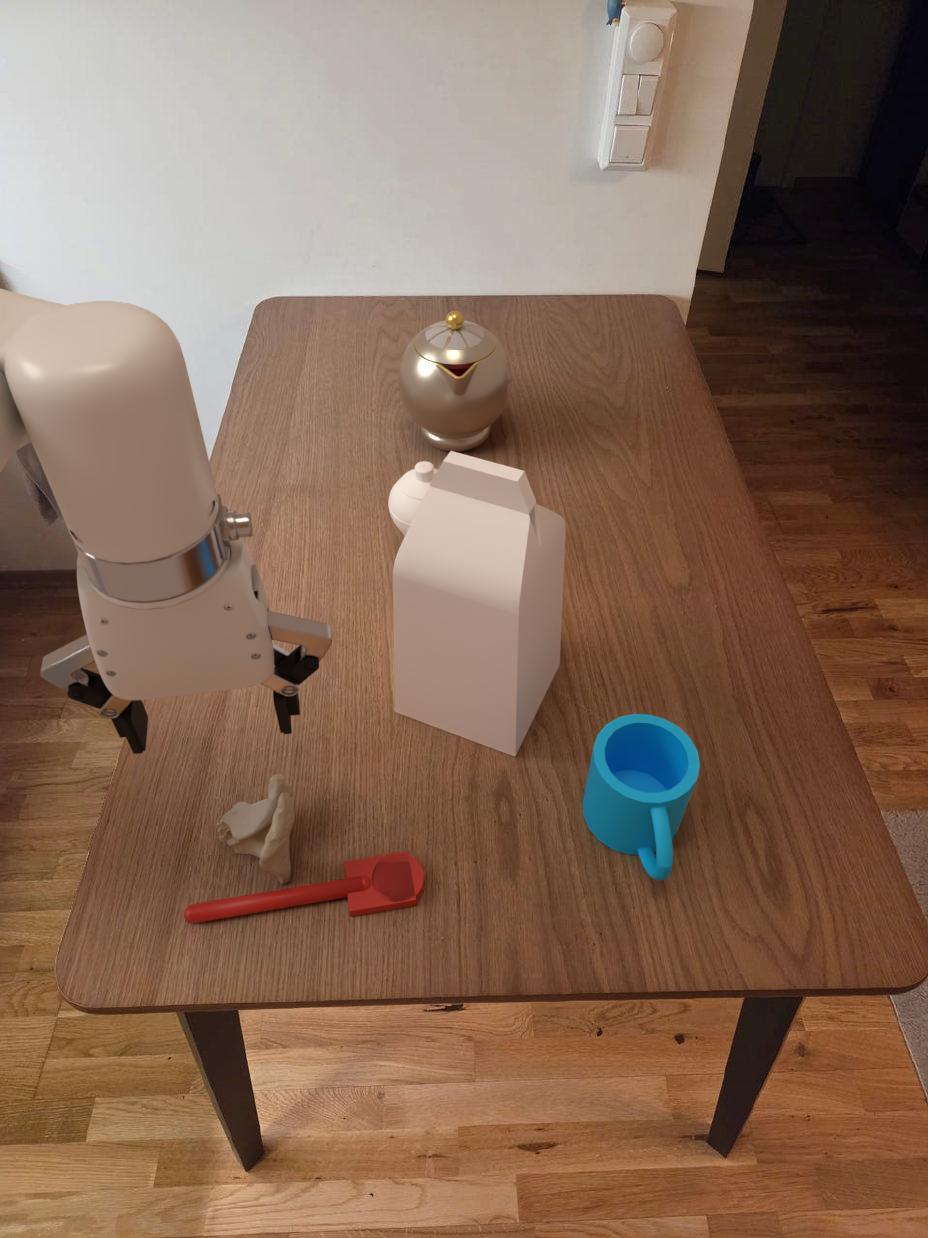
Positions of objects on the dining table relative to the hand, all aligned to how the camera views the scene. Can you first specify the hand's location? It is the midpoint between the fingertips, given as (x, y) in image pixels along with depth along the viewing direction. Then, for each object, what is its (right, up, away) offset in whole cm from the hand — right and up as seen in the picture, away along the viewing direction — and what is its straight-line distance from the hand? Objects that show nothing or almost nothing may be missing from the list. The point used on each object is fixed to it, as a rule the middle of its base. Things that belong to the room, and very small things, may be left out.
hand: (214, 726), depth 59 cm
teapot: (+16, +32, +51) cm, 62 cm away
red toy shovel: (+4, -15, +8) cm, 17 cm away
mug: (+31, -10, +13) cm, 35 cm away
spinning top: (+13, +14, +35) cm, 40 cm away
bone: (+1, -11, +12) cm, 16 cm away
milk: (+18, +1, +23) cm, 29 cm away
